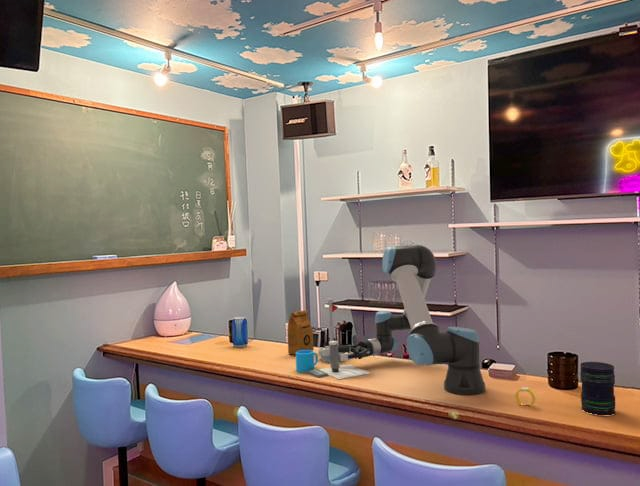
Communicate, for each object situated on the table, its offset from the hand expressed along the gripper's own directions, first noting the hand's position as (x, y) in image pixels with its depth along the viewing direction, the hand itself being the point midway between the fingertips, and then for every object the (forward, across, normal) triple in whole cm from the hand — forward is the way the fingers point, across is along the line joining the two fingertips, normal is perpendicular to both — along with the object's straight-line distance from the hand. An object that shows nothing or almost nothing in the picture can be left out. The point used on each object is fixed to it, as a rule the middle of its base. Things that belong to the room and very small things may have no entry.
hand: (331, 355), depth 223 cm
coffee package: (-11, +41, -8) cm, 44 cm away
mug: (+4, +13, -8) cm, 16 cm away
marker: (-2, 0, -7) cm, 8 cm away
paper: (-5, -2, -8) cm, 9 cm away
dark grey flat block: (+6, +3, -8) cm, 10 cm away
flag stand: (-15, +20, -8) cm, 26 cm away
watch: (-24, -78, -8) cm, 82 cm away
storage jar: (-37, -96, -8) cm, 103 cm away
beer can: (+4, +80, -8) cm, 81 cm away
